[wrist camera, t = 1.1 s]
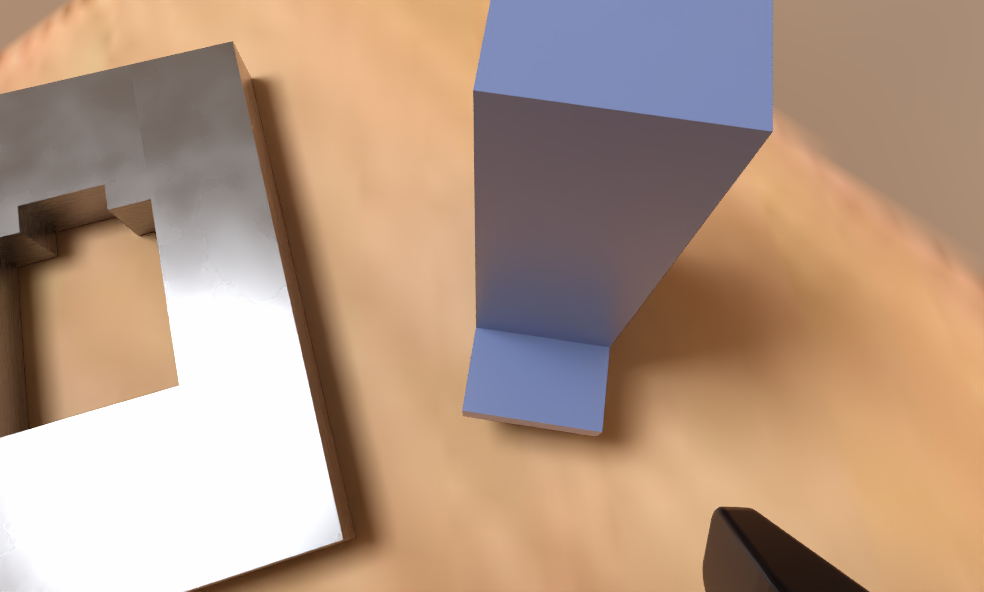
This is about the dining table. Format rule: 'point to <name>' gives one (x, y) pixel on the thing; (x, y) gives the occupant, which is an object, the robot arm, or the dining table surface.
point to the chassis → (195, 333)
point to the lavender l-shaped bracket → (597, 180)
